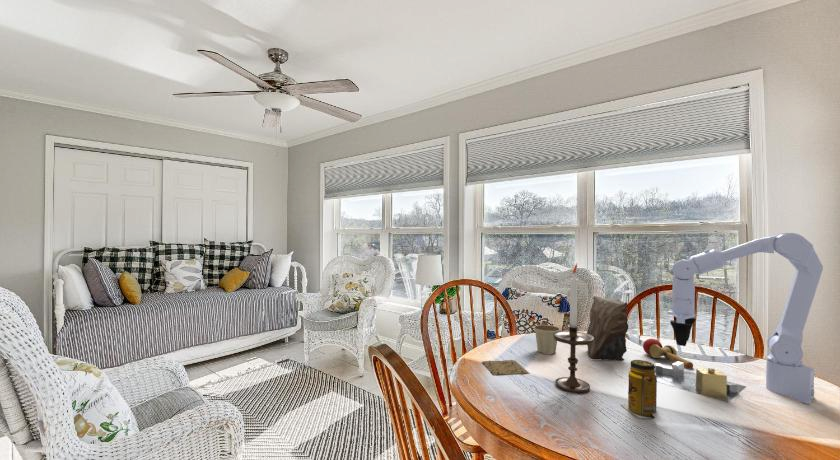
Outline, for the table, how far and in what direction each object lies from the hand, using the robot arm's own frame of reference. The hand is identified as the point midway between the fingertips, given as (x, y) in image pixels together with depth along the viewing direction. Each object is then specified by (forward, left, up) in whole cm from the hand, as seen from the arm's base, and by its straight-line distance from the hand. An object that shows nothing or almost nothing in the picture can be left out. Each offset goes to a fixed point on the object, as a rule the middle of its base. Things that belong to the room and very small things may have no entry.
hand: (682, 342), depth 121 cm
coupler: (-11, +12, -9) cm, 18 cm away
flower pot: (+38, +16, -10) cm, 42 cm away
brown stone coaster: (+36, +41, -10) cm, 55 cm away
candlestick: (+15, +37, -10) cm, 41 cm away
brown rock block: (+24, +4, -10) cm, 26 cm away
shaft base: (-5, +7, -10) cm, 13 cm away
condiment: (-4, +36, -10) cm, 38 cm away
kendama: (+8, -9, -10) cm, 16 cm away
